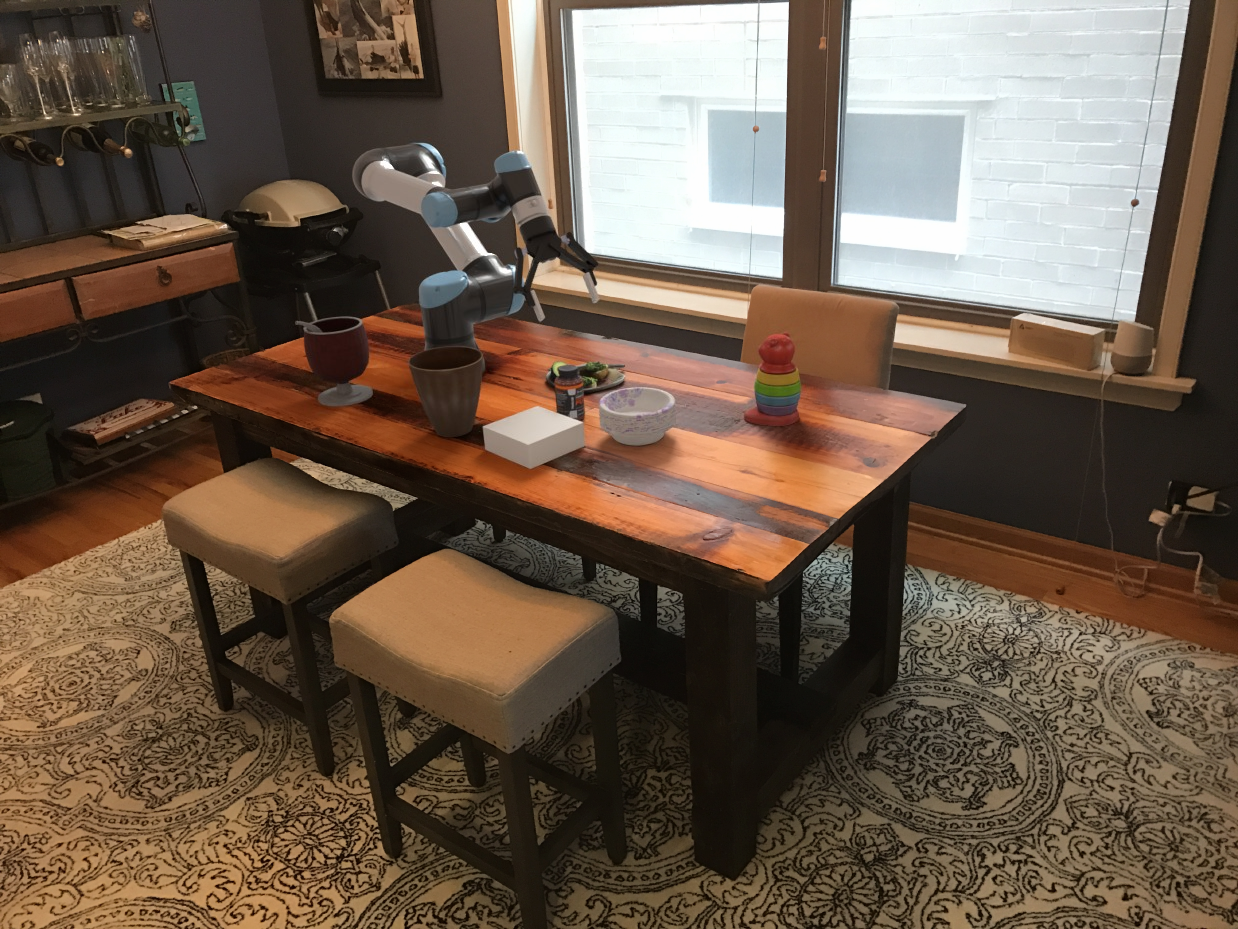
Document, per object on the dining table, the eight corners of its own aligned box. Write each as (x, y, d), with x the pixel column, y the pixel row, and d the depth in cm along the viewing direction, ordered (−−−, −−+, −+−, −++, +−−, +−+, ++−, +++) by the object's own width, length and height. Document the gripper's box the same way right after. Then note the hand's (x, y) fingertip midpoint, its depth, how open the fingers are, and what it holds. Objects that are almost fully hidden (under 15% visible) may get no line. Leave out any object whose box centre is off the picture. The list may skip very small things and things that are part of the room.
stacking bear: (771, 404, 210) (773, 323, 202) (811, 415, 203) (814, 332, 196) (739, 419, 203) (739, 336, 195) (779, 431, 196) (781, 346, 189)
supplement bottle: (581, 424, 205) (578, 372, 200) (554, 423, 206) (549, 372, 201) (588, 413, 210) (584, 363, 205) (561, 412, 211) (557, 362, 207)
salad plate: (610, 362, 241) (609, 344, 239) (644, 384, 226) (643, 364, 224) (537, 377, 233) (535, 359, 231) (567, 400, 219) (565, 381, 217)
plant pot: (500, 418, 210) (492, 346, 203) (477, 446, 197) (468, 370, 190) (434, 416, 213) (424, 345, 206) (407, 443, 200) (396, 368, 193)
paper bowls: (654, 457, 188) (653, 418, 185) (586, 445, 195) (584, 407, 192) (689, 428, 200) (688, 392, 197) (623, 418, 207) (621, 382, 204)
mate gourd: (356, 381, 236) (342, 300, 227) (388, 394, 227) (374, 310, 218) (297, 400, 226) (280, 315, 218) (327, 414, 217) (311, 326, 209)
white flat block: (485, 449, 195) (482, 426, 193) (539, 428, 204) (537, 405, 202) (530, 469, 186) (528, 444, 184) (585, 445, 194) (583, 422, 192)
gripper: (485, 230, 210) (522, 323, 210) (588, 200, 219) (624, 289, 219) (478, 241, 217) (514, 331, 218) (579, 212, 226) (613, 298, 226)
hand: (569, 310), depth 218 cm, fingers open, 13 cm apart
